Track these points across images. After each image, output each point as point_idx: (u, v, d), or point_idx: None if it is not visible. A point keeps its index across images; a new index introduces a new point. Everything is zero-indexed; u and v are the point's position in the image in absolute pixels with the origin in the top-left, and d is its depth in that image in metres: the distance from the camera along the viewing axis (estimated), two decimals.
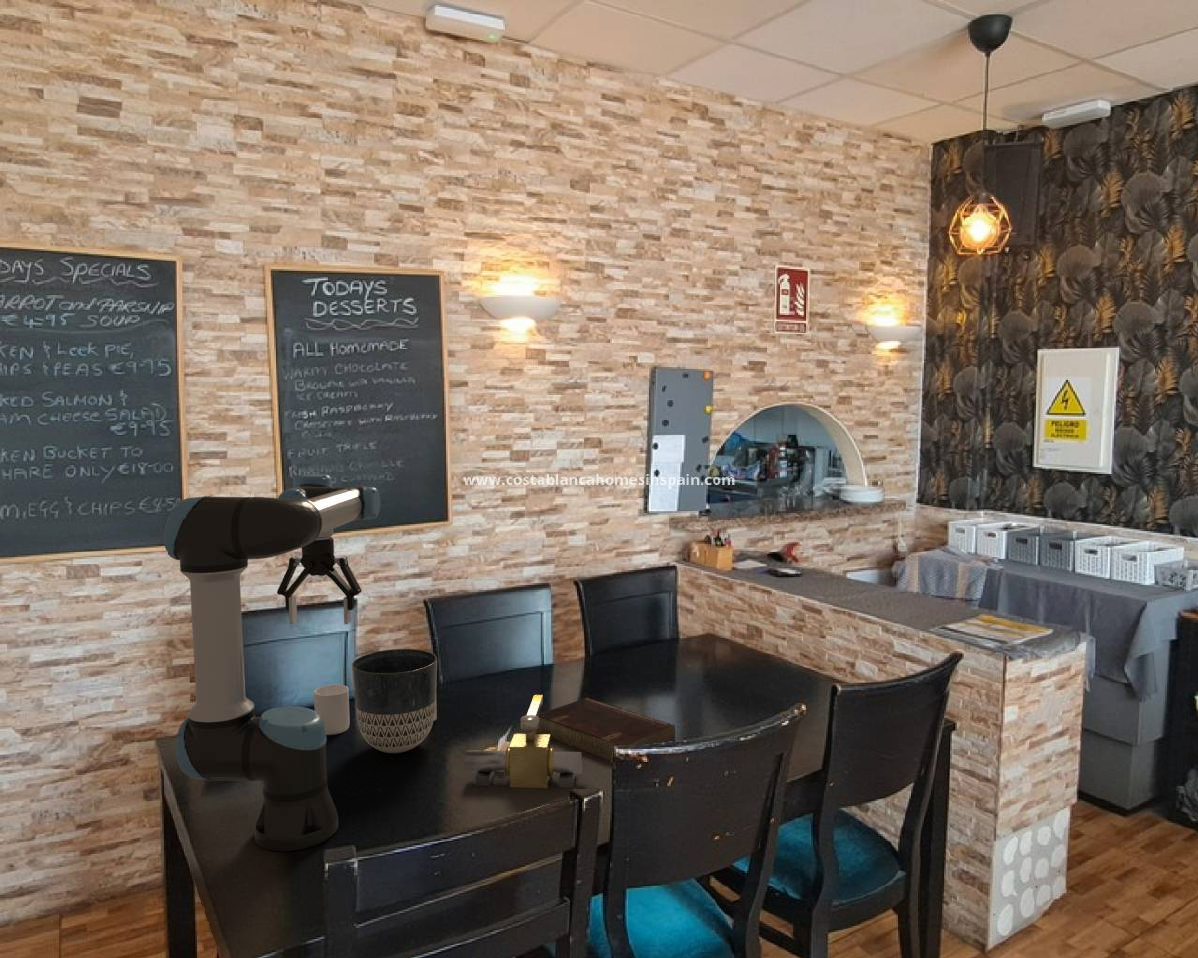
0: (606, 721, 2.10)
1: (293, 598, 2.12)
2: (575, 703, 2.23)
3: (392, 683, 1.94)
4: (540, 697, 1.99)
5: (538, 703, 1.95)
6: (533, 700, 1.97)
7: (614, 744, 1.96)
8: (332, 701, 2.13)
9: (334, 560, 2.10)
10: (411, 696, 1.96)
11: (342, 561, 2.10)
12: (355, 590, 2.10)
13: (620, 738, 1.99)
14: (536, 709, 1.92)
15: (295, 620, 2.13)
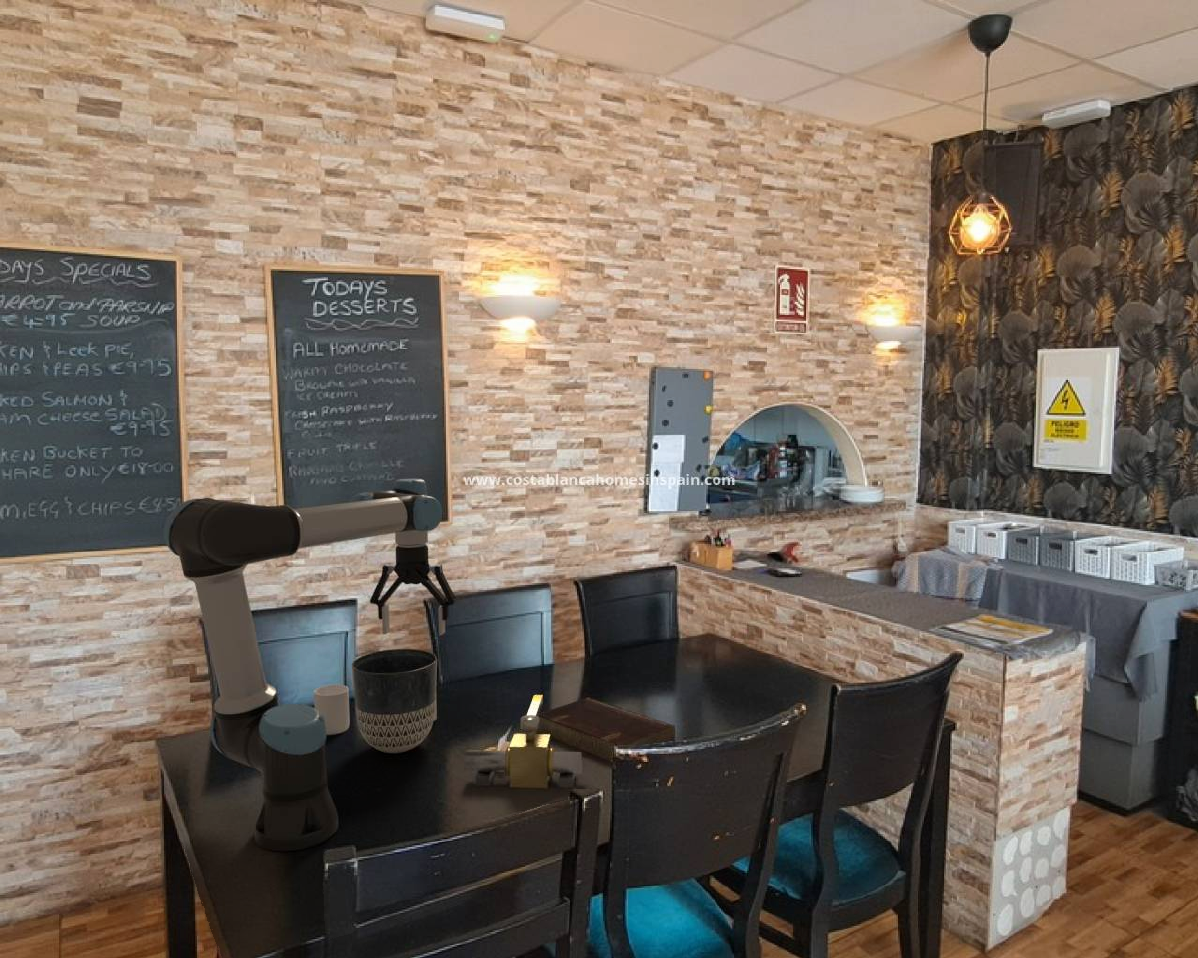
0: (606, 721, 2.10)
1: (386, 607, 2.04)
2: (576, 703, 2.23)
3: (392, 683, 1.94)
4: (540, 697, 1.99)
5: (538, 703, 1.95)
6: (533, 700, 1.97)
7: (613, 744, 1.96)
8: (332, 701, 2.13)
9: (429, 568, 2.02)
10: (411, 696, 1.96)
11: (437, 569, 2.01)
12: (450, 599, 2.02)
13: (619, 738, 1.99)
14: (536, 709, 1.92)
15: (388, 630, 2.05)
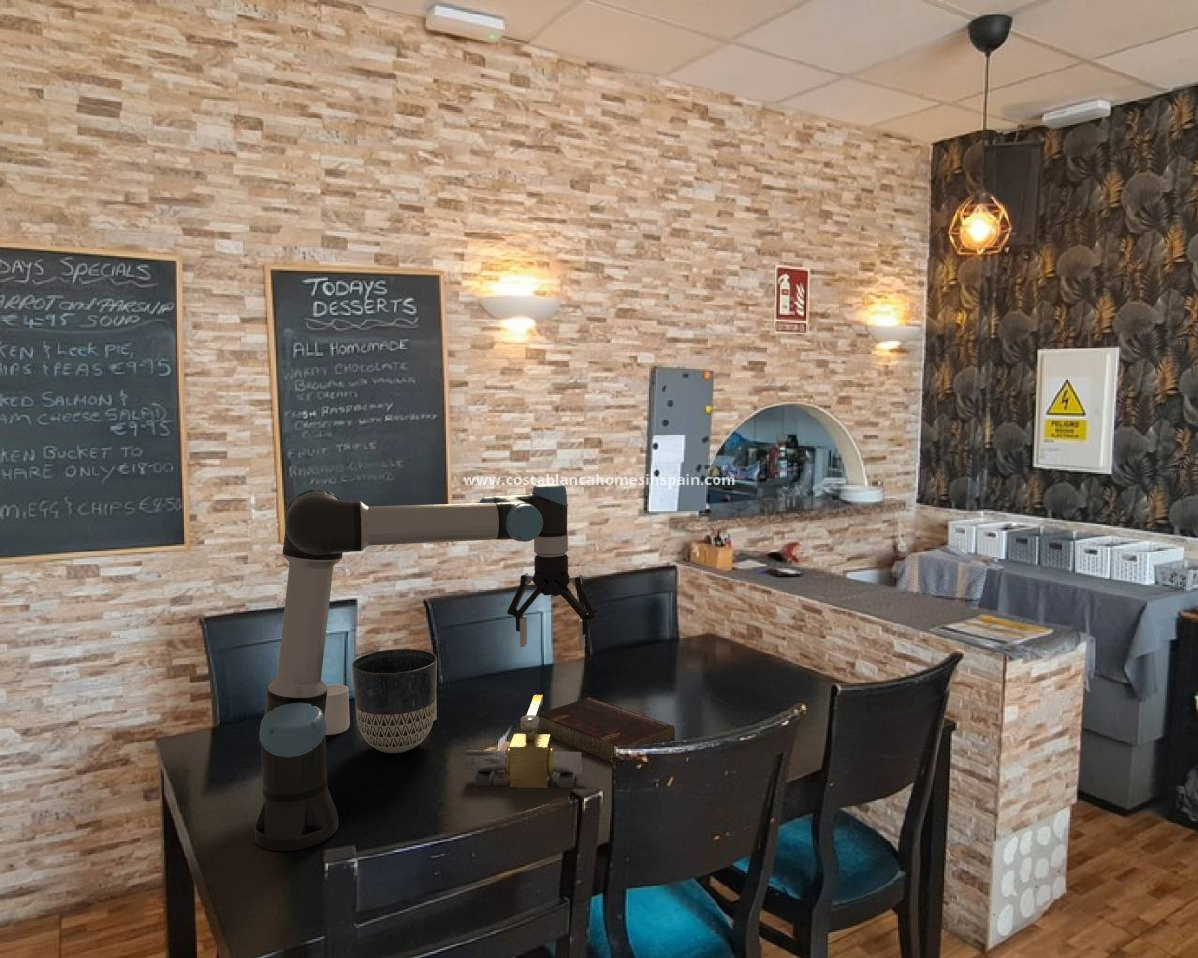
0: (606, 721, 2.10)
1: (524, 619, 1.94)
2: (576, 703, 2.23)
3: (392, 683, 1.94)
4: (540, 697, 1.99)
5: (538, 703, 1.95)
6: (533, 700, 1.97)
7: (612, 744, 1.96)
8: (332, 701, 2.13)
9: (569, 579, 1.91)
10: (411, 696, 1.96)
11: (578, 580, 1.90)
12: (591, 613, 1.90)
13: (618, 738, 1.99)
14: (536, 709, 1.92)
15: (525, 643, 1.95)
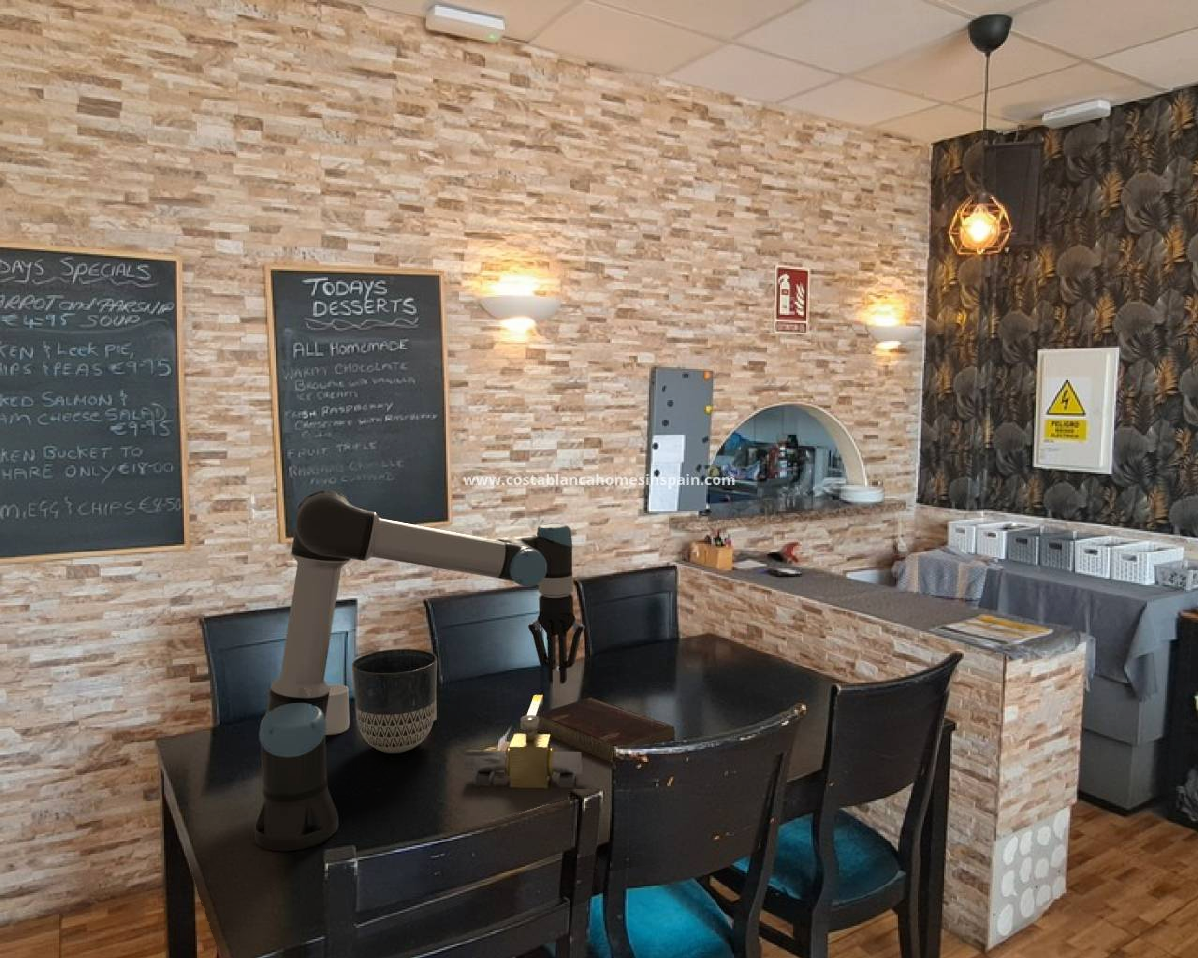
0: (606, 721, 2.10)
1: None
2: (577, 703, 2.23)
3: (392, 683, 1.94)
4: (540, 697, 1.99)
5: (538, 703, 1.95)
6: (533, 700, 1.97)
7: (611, 744, 1.96)
8: (332, 701, 2.13)
9: (573, 623, 1.91)
10: (411, 696, 1.96)
11: (580, 630, 1.90)
12: (570, 662, 1.92)
13: (617, 738, 1.99)
14: (536, 709, 1.92)
15: None
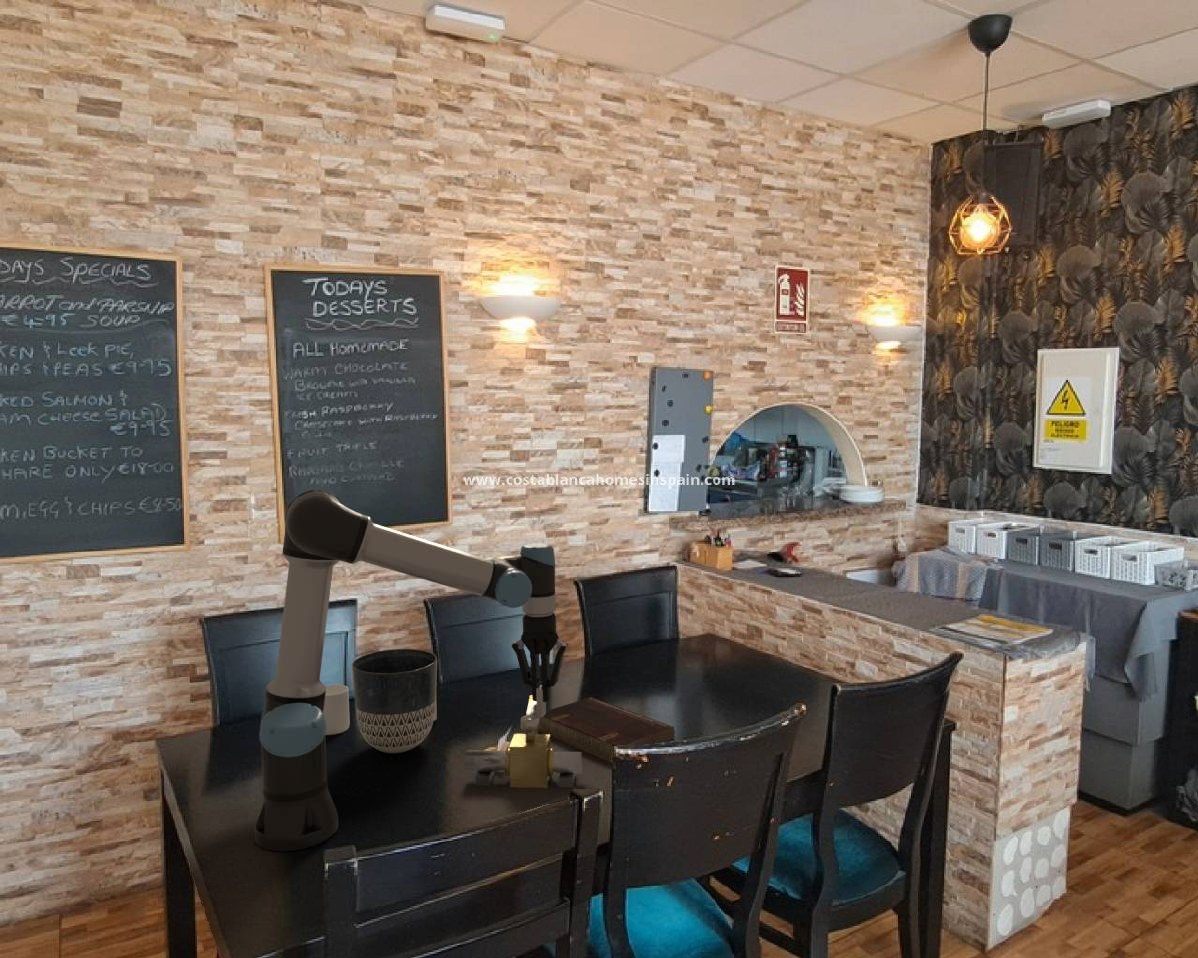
0: (606, 721, 2.10)
1: None
2: (578, 702, 2.23)
3: (392, 683, 1.94)
4: None
5: (535, 703, 1.95)
6: (530, 700, 1.97)
7: (610, 744, 1.96)
8: (332, 701, 2.13)
9: (556, 642, 1.92)
10: (411, 696, 1.96)
11: (562, 650, 1.91)
12: (553, 681, 1.93)
13: (616, 739, 1.99)
14: (534, 709, 1.92)
15: None
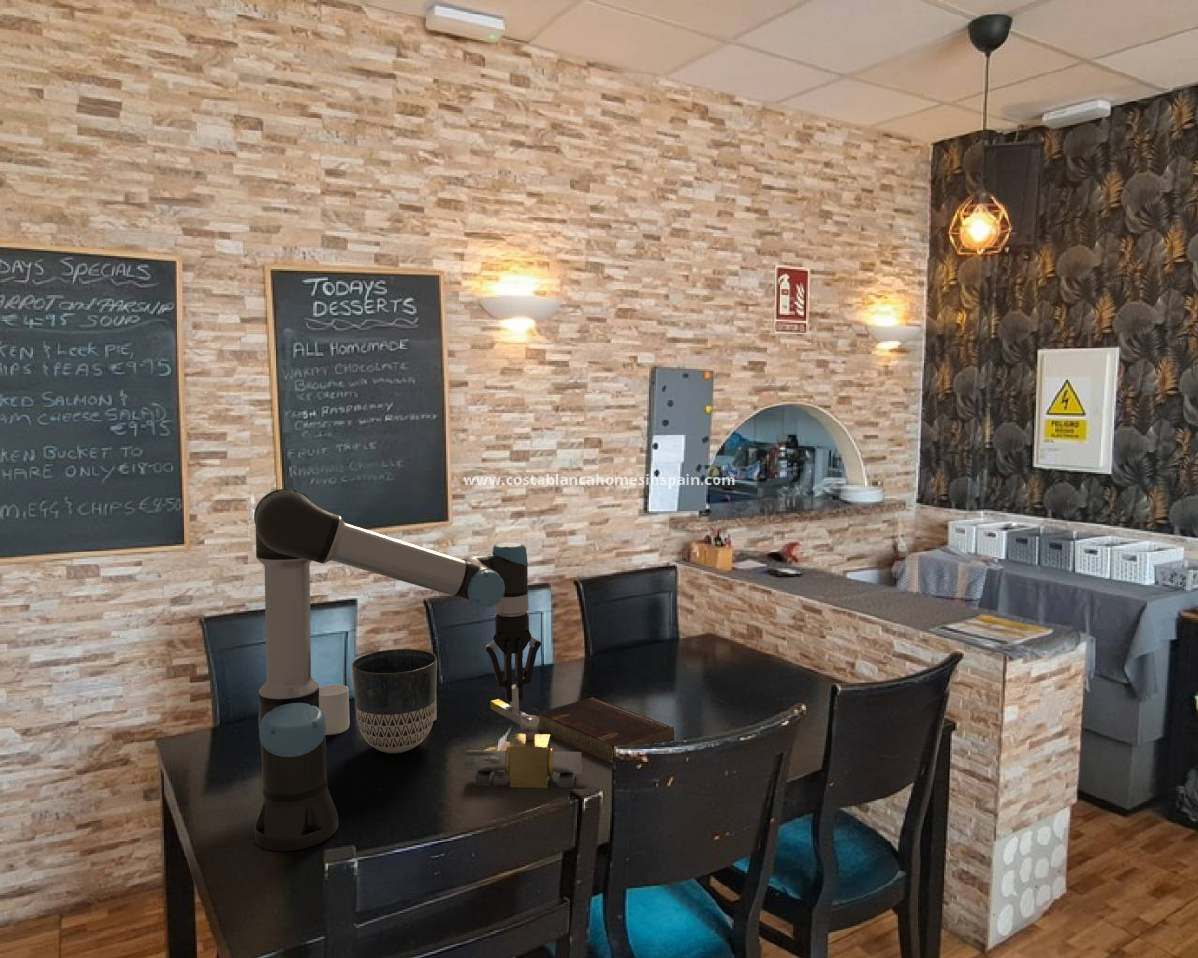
0: (606, 721, 2.10)
1: None
2: (579, 702, 2.23)
3: (392, 683, 1.94)
4: (500, 701, 1.97)
5: (509, 705, 1.94)
6: (499, 705, 1.95)
7: (608, 744, 1.96)
8: (332, 701, 2.13)
9: (530, 638, 1.94)
10: (411, 696, 1.96)
11: (538, 645, 1.94)
12: (529, 678, 1.94)
13: (615, 739, 1.98)
14: (518, 710, 1.91)
15: None
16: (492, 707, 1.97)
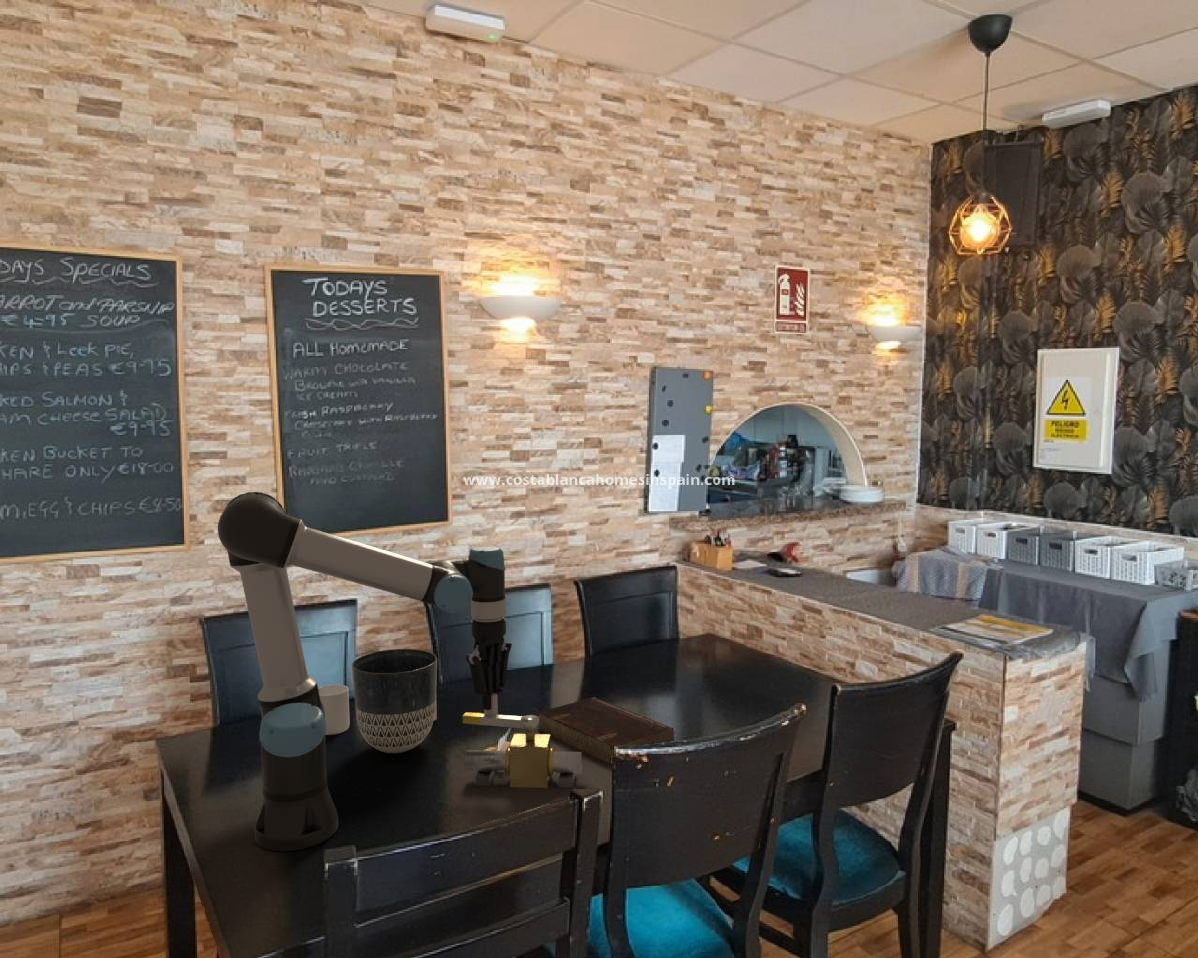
0: (605, 721, 2.10)
1: None
2: (580, 702, 2.23)
3: (392, 683, 1.94)
4: (472, 713, 1.90)
5: (489, 714, 1.89)
6: (478, 716, 1.88)
7: (607, 744, 1.96)
8: (332, 701, 2.13)
9: None
10: (411, 696, 1.96)
11: (510, 647, 1.93)
12: (504, 682, 1.92)
13: (614, 739, 1.98)
14: (505, 715, 1.88)
15: None
16: (466, 721, 1.88)
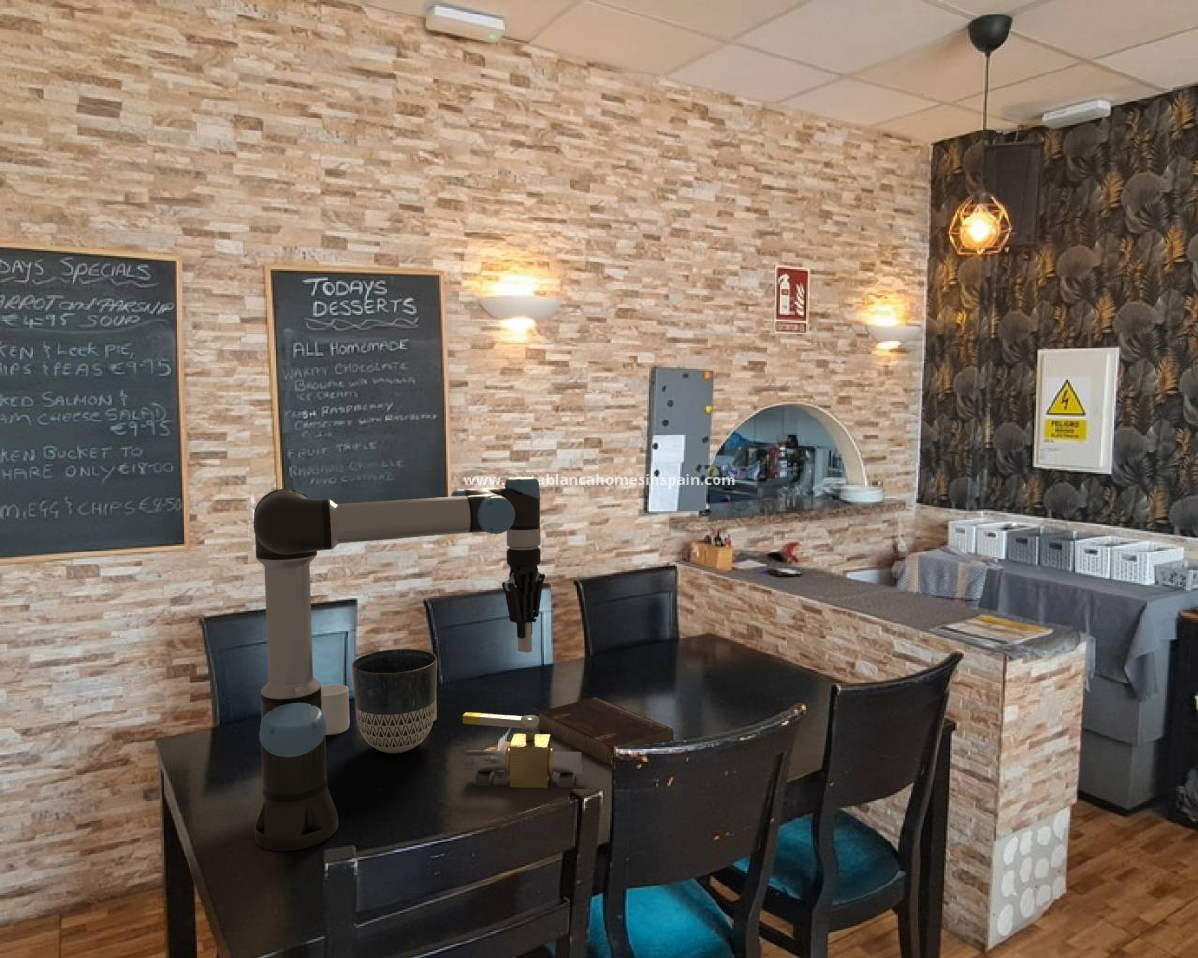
0: (605, 721, 2.10)
1: None
2: (581, 702, 2.24)
3: (392, 683, 1.94)
4: (472, 713, 1.90)
5: (489, 714, 1.89)
6: (478, 716, 1.88)
7: (605, 744, 1.96)
8: (332, 701, 2.13)
9: None
10: (411, 696, 1.96)
11: (543, 578, 1.96)
12: (537, 612, 1.94)
13: (612, 739, 1.98)
14: (505, 715, 1.88)
15: None
16: (466, 721, 1.88)
